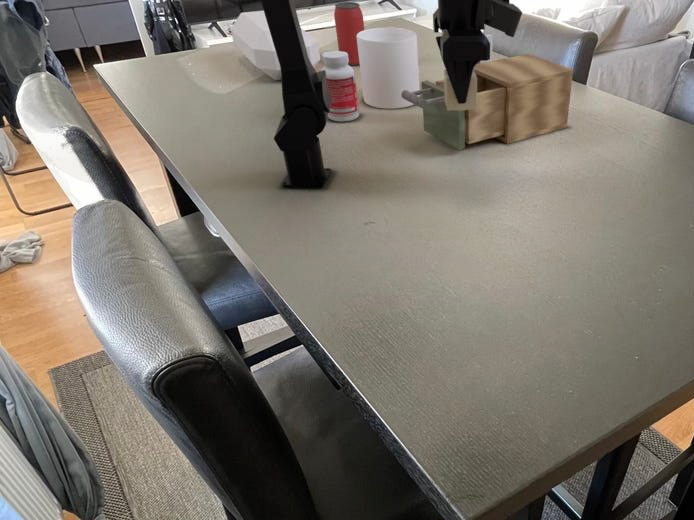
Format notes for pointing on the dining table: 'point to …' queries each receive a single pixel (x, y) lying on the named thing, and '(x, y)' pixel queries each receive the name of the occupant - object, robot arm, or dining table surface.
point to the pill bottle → (341, 86)
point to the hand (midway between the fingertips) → (460, 98)
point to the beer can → (348, 29)
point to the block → (452, 100)
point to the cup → (388, 66)
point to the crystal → (265, 43)
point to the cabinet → (530, 94)
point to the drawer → (462, 113)
